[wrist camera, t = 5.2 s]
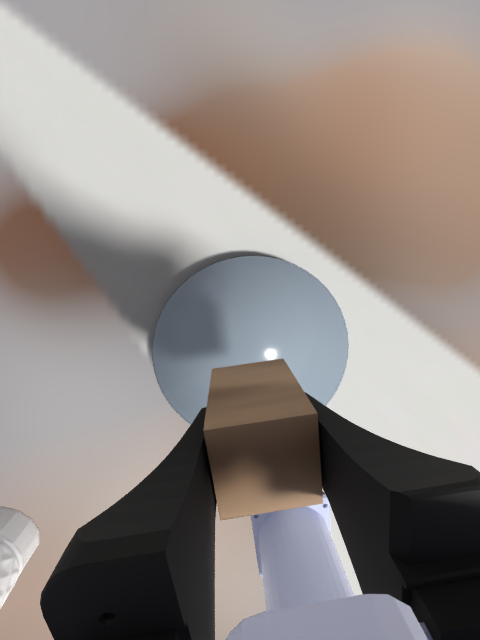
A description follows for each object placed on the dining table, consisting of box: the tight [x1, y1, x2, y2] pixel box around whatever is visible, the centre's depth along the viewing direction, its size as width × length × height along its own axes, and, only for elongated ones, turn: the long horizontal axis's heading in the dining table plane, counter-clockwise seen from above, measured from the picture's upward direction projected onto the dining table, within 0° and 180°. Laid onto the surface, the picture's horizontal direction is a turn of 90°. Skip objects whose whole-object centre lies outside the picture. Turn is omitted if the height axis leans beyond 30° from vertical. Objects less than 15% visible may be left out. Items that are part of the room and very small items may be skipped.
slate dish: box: [152, 256, 348, 424], centre depth 20 cm, size 16×16×1 cm
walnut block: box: [203, 359, 323, 520], centre depth 11 cm, size 4×4×5 cm
